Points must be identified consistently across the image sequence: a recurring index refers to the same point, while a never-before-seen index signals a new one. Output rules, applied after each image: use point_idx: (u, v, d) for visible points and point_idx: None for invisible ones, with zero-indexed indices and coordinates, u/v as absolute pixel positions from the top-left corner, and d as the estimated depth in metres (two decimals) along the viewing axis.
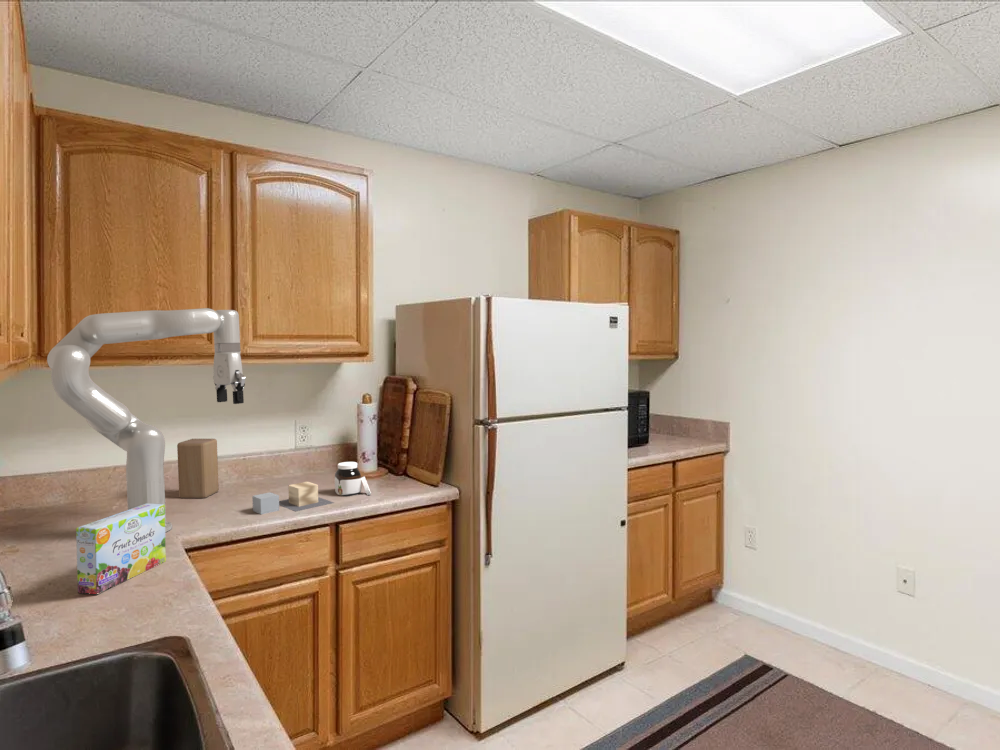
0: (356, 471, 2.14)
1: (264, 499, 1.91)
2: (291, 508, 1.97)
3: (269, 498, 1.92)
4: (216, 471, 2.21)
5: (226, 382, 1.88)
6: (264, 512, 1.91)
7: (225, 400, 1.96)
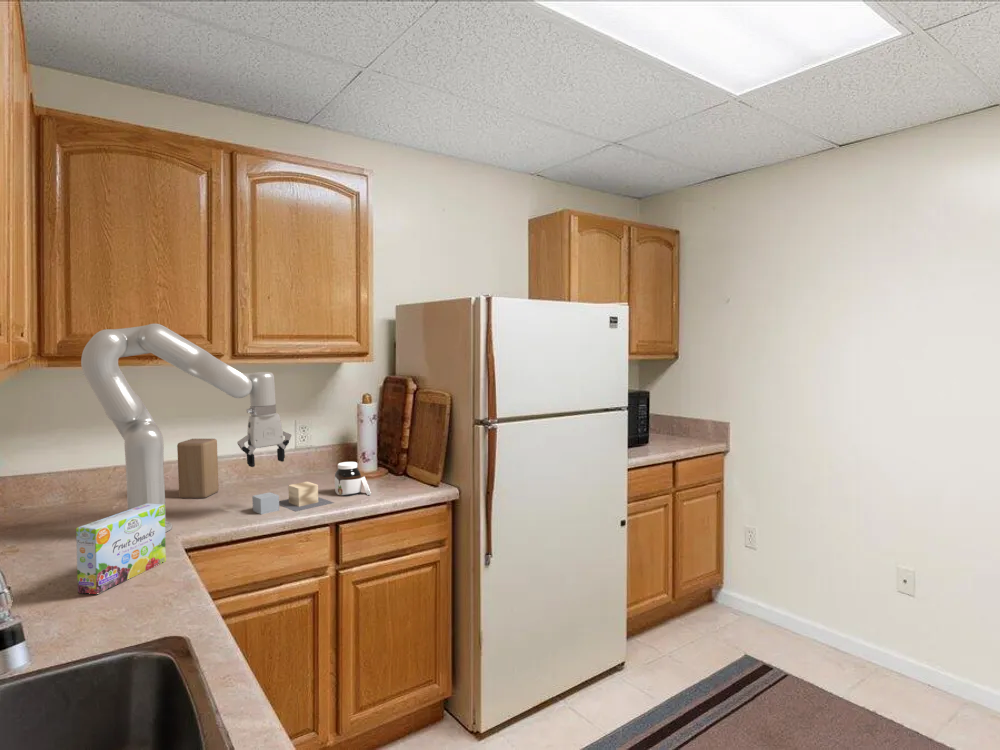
0: (356, 471, 2.14)
1: (264, 499, 1.91)
2: (291, 508, 1.97)
3: (269, 498, 1.92)
4: (216, 471, 2.21)
5: (279, 442, 1.94)
6: (264, 512, 1.91)
7: None
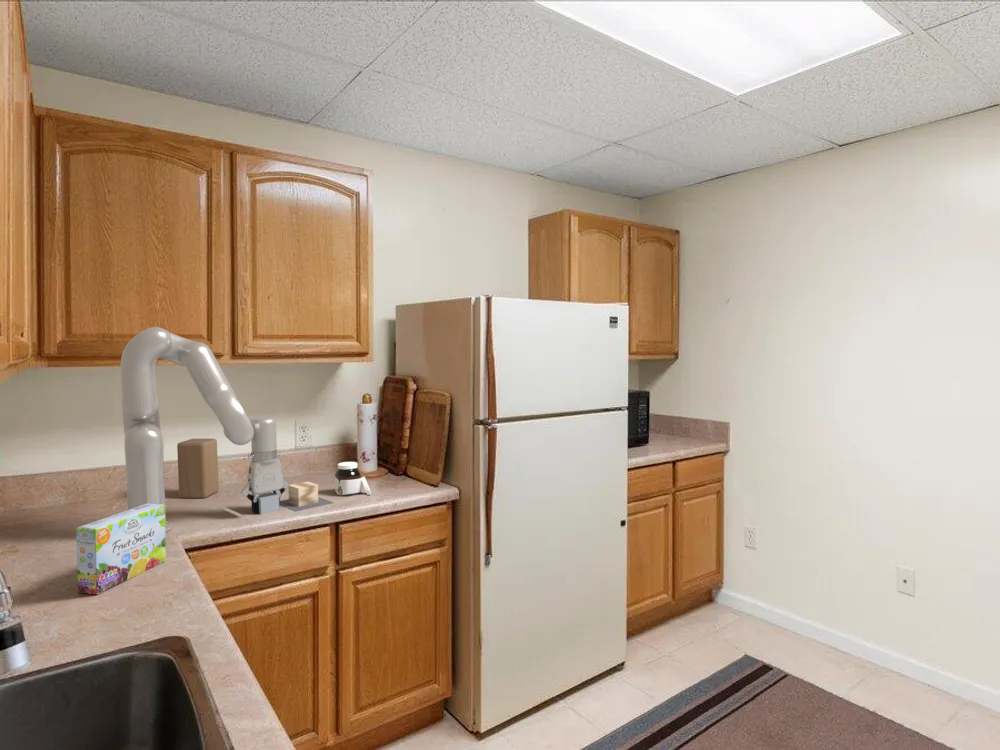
0: (356, 471, 2.14)
1: (264, 499, 1.91)
2: (291, 508, 1.97)
3: (269, 498, 1.92)
4: (216, 471, 2.21)
5: (279, 487, 1.94)
6: (264, 512, 1.91)
7: None
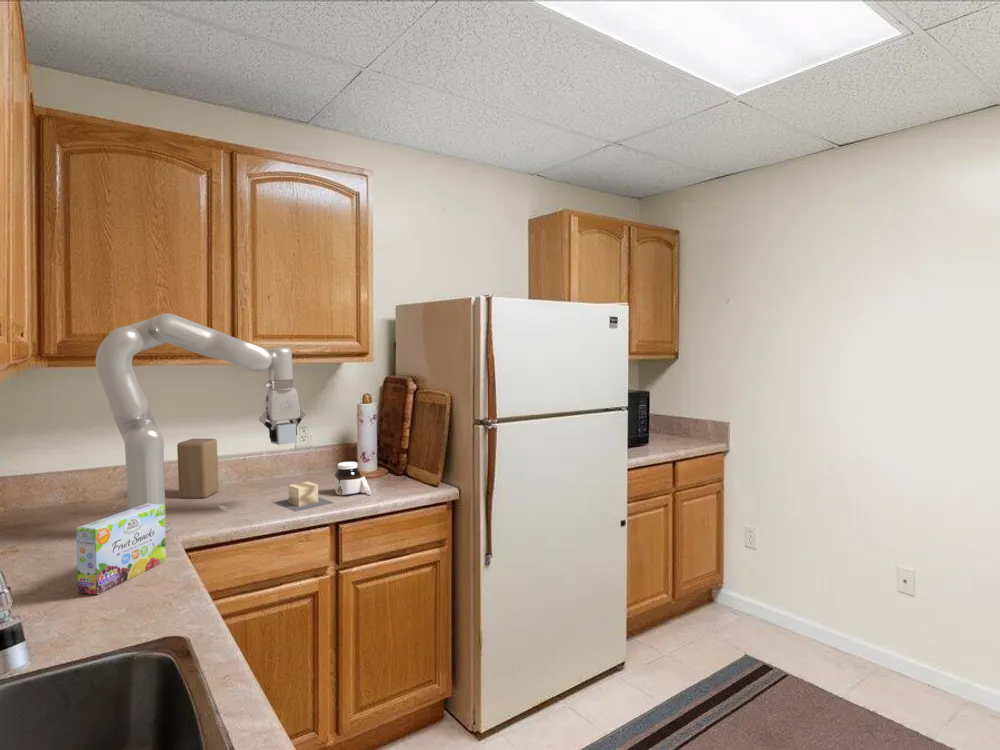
0: (356, 471, 2.14)
1: (281, 426, 1.94)
2: (291, 508, 1.97)
3: (286, 426, 1.95)
4: (216, 471, 2.21)
5: (296, 416, 1.98)
6: (282, 439, 1.94)
7: None
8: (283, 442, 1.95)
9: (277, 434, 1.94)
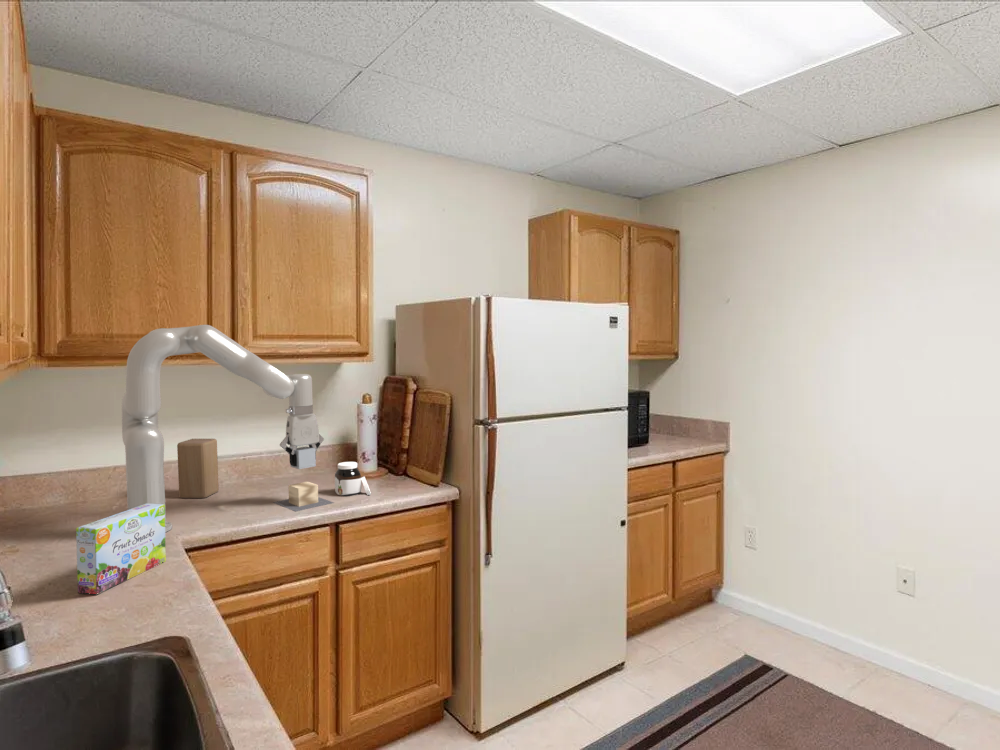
0: (356, 471, 2.14)
1: (302, 451, 1.99)
2: (291, 508, 1.97)
3: (306, 451, 2.01)
4: (216, 471, 2.21)
5: (315, 441, 2.03)
6: (302, 464, 2.00)
7: None
8: (303, 466, 2.00)
9: (297, 459, 1.99)
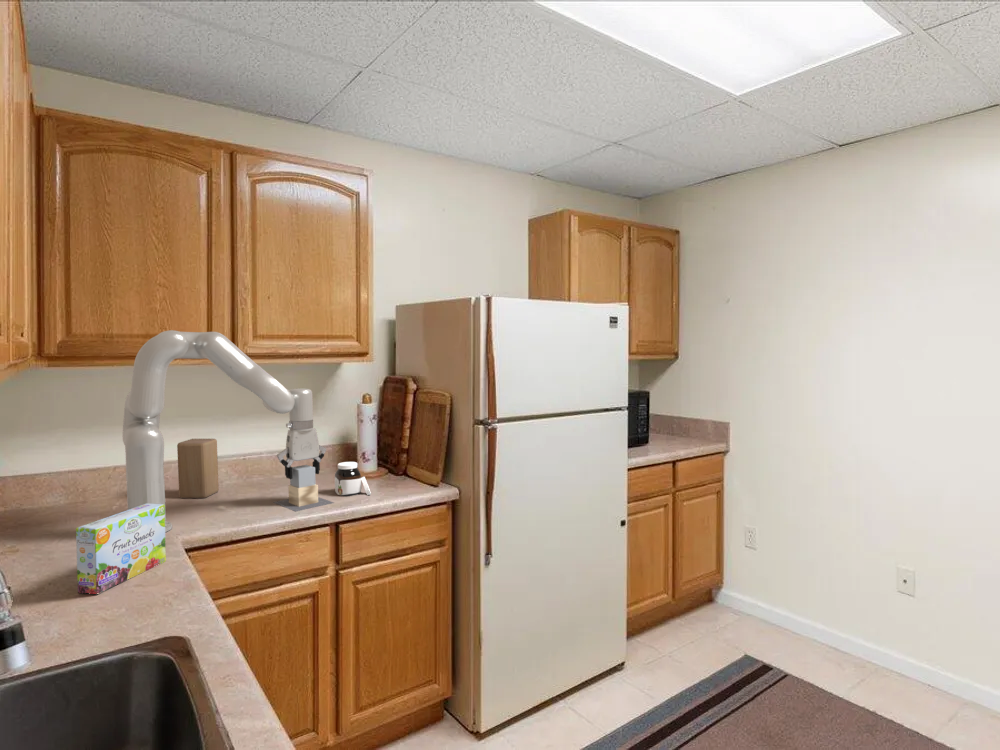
0: (356, 471, 2.14)
1: (302, 470, 2.00)
2: (291, 508, 1.97)
3: (306, 469, 2.01)
4: (216, 471, 2.21)
5: (315, 455, 2.03)
6: (302, 483, 2.00)
7: None
8: (303, 485, 2.00)
9: (297, 477, 1.99)
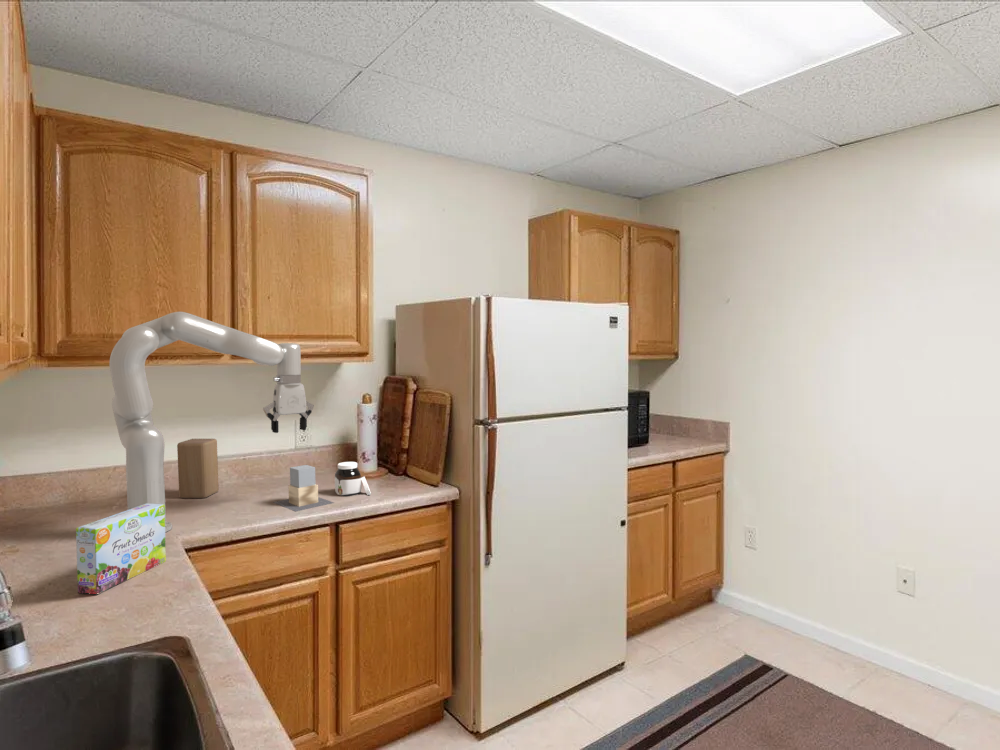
0: (356, 471, 2.14)
1: (302, 470, 2.00)
2: (291, 508, 1.97)
3: (306, 469, 2.01)
4: (216, 471, 2.21)
5: (302, 411, 2.03)
6: (302, 483, 2.00)
7: None
8: (303, 485, 2.00)
9: (297, 477, 1.99)
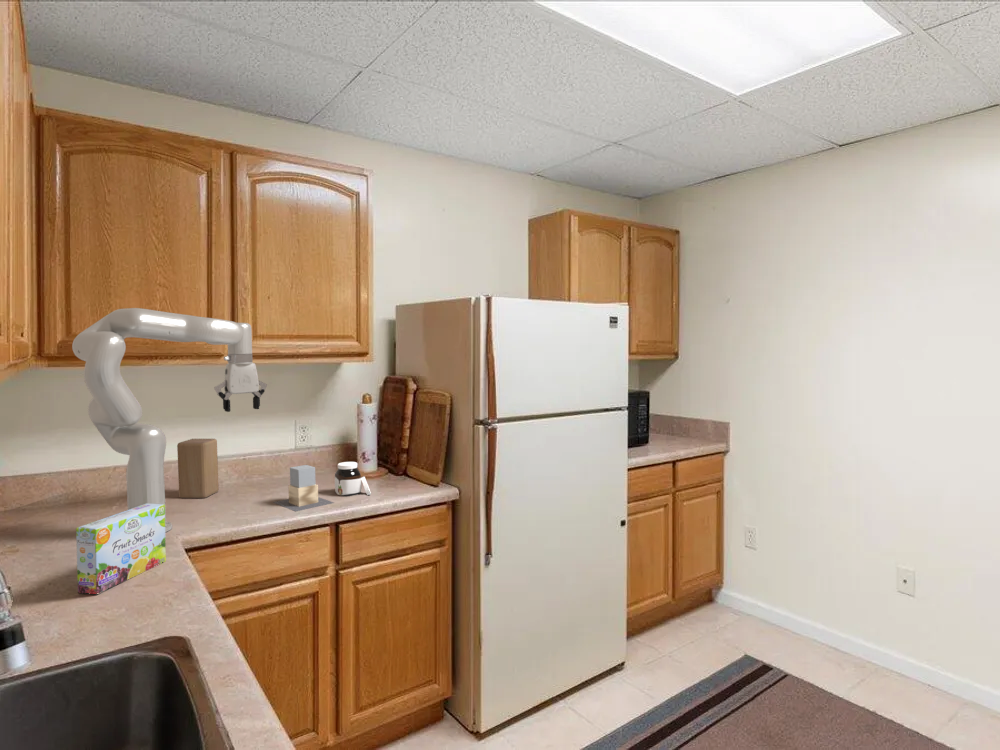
0: (356, 471, 2.14)
1: (302, 470, 2.00)
2: (291, 508, 1.97)
3: (306, 469, 2.01)
4: (216, 471, 2.21)
5: (255, 390, 2.04)
6: (302, 483, 2.00)
7: None
8: (303, 485, 2.00)
9: (297, 477, 1.99)
